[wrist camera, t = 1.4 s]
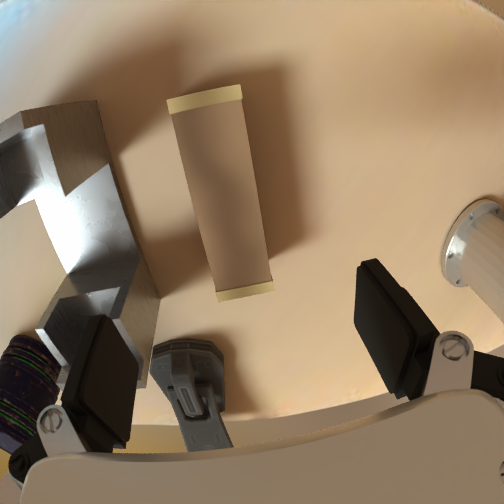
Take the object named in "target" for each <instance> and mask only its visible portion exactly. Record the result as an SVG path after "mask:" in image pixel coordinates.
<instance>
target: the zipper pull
mask: <svg viewBox="0 0 504 504" xmlns="http://www.w3.org/2000/svg"><path fill="white" fill-rule="evenodd" d="M150 374H151V376H152V377H153V378H154V380H155V381H156V383H157V384H158V385H159V387H160V388H161V390H162V391H163V393H164V394H165V395H166V397H167V398H168V400H169V401H170V402H171V404H172V407H173V409H174V412H175V415H176V417H177V420H178V422H179V426H180V429H181V432H182V435H183V438H184V442H185V445H186V448H187V451H188V452H195V451H207V450H217V449H225V448H233V447H234V446H233V445H232V442H231V440H230V437H229V435H228V433H227V430H226V428H225V426H224V423H223V421H222V418H221V416H220V412H223V411H225V399H224V362H223V354H222V353H221V352H220V351H219V350H218V349H217V348H216V347H215V345H214V344H213V343H212V342H210V341H202V340H195V339H179V340H170V341H167V342H164V343H161V344H158V345H155V346H154V347H153V352H152V358H151V365H150ZM191 416H193V417H191Z"/></svg>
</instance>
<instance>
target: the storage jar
mask: <svg viewBox="0 0 504 504" xmlns="http://www.w3.org/2000/svg"><path fill="white" fill-rule="evenodd" d="M61 368H62V366H61V365H60V363H59V362H58V361H57V360H56V358H55V357H54V356H53V354H52V353H51V352H50V350H49V349H48V348H47V346H46V345H45V344H43V343H42V342H40V341H38V340H36V339H34V338H32V337H29V336H25V335H17V336H14V337H13V338H12V339H11V341H10V343H9V346H8V347H7V348H6V350H5V351H4V352H3V354H2V356H1V359H0V448H1V449H3V450H5V451H6V452H8V453H10V454H12V453H13V452H14V451H15V450H16V449H18V448H19V447H20V446H21V445H22V444H24V443H25V442H26V441H27V440H29V439H30V438H31V437H32V436H34V435H35V434H36V433H37V432H38V430H37V419H38V417H39V415H40V413H41V412H42V411H43V410H44V409H45V408H46V407H48V406H50V405H55V403H56V401H57V399H58V397H57V396H58V395H59V392H60V388H59V387H58V386H57V384H56V382H57V379H58V376H59V374H60V371H61Z"/></svg>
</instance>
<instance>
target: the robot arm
mask: <svg viewBox="0 0 504 504" xmlns="http://www.w3.org/2000/svg"><path fill="white" fill-rule="evenodd" d="M441 266H442V272H443V275H444V277H445V278H446V280H447V281H448V282H449V283H450V284H451V285H453V286H455V287H465V286H469V287H470V288H471V289H472V290H473V291H474V292H475V293H476V294H477V295H478V296H479V297H480V298H481V299H482V300H483V301H484V302H485V303H486V304H487V305H488V307H489V308H490V309H491V310H492V311H493V312H494V313H495V314H496V315H497V316H498V318H499V319H500V320H501V321H502V322H503V323H504V211H503V209H502V208H501V206H500V205H498V204H497V203H496V202H494V201H492V200H489V199H483V200H479V201H477V202H475V203H473V204H472V205H470V206H469V207H468V208H467V209H466V210H465V211H464V212H463V213H462V214H461V215H460V216H459V217H458V219H457V220H456V221H455V223H454V225H453V226H452V228H451V230H450V232H449V234H448V236H447V239H446V242H445V245H444V248H443V253H442V260H441ZM354 324H355V327H356V329H357V331H358V333H359V335H360V337H361V339H362V341H363V342H364V344H365V346H366V348H367V350H368V352H369V354H370V356H371V358H372V360H373V362H374V364H375V365H376V367H377V369H378V371H379V373H380V375H381V377H382V379H383V381H384V383H385V385H386V387H387V389H388V391H389V392H390V393H391V394H392V393H394V394H395V396H396V398H397V399H400V398H402V397H405V396H407V397H408V399H409V400H410V401H409V402H406V403H403V404H400V405H398V406H395V407H392V408H389V409H387V410H384V411H381V412H378V413H375V414H372V415H369V416H366V417H363V418H360V419H357V420H354V421H350V422H347V423H344V424H341V425H337V426H334V427H330V428H327V429H323V430H320V431H315V432H311V433H308V434H303V435H299V436H295V437H291V438H285V439H281V440H276V441H270V442H265V443H259V444H253V445H247V446H241V447H233V448H225V449H217V450H207V451H195V452H181V453H158V454H157V453H154V454H132V453H131V454H130V453H129V454H128V453H125V454H124V453H112V452H113V448H119V449H126V442H128V441H129V439H130V431H131V423H132V415H133V408H134V401H135V394H136V387H137V380H138V374H139V364H138V362H137V360H136V358H135V357H134V355H133V354H132V352H131V351H130V349H129V347H128V346H127V344H126V342H125V341H124V339H123V338H122V336H121V334H120V332H119V331H118V329H117V327H116V326H115V324H114V322H113V320H112V319H111V318H110V317H107V315H105V314H99V315H93V316H91V317H90V318H89V321H88V323H87V326H86V328H85V331H84V333H83V336H82V338H81V341H80V344H79V346H78V349H77V352H76V354H75V357H74V360H73V363H72V366H71V368H70V371H69V374H68V377H67V380H66V383H65V387H64V390H63V393H62V396H61V399H60V400H61V401H62V405H61V406H59V405H50V406H48V407H46V408H45V409H44V410H43V411H42V412H41V413H40V415H39V417H38V419H37V430H38V432H37V433H36V434H35V435H34V436H32V437H31V438H30V439H29V440H27V441H26V442H25V443H24V444H22V445H21V446H20V447H19V448H18V449H16V450H15V451H14V452H13V453H12V455H11V457H10V459H9V471H10V473H8V472H5V474H4V475H3V477H2V478H1V480H0V504H504V358H501V357H497V356H493V355H489V354H486V353H482V352H478V351H474V348H473V344H472V342H471V340H470V339H469V338H468V337H467V336H466V335H464V334H463V333H460V332H457V331H447V332H444V333H442V334H440V333H439V331H438V330H437V329H436V327H435V326H434V325H433V323H432V322H431V321H430V319H429V318H428V317H427V315H426V314H425V313H424V312H423V310H422V309H421V308H420V307H419V305H418V304H417V303H416V302H415V300H414V299H413V298H412V297H411V295H410V294H409V293H408V292H407V290H406V289H404V288H403V287H401V286H400V285H399V284H398V283H397V282H396V280H395V279H394V278H393V277H392V276H391V274H390V273H389V272H388V271H387V270H386V268H385V267H384V266H383V265H382V264H381V263H380V261H379V260H378V259H376V258H374V259H370V260H366V261H362V262H361V265H360V266H358V267H357V275H356V294H355V310H354Z"/></svg>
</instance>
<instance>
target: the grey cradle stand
mask: <svg viewBox="0 0 504 504" xmlns="http://www.w3.org/2000/svg"><path fill="white" fill-rule="evenodd" d="M34 198H35V200H36V203H37V206H38V208H39V211H40V214H41V216H42V219H43V221H44V224H45V226H46V228H47V231H48V233H49V236H50V238H51V240H52V242H53V245H54V247H55V249H56V251H57V254H58V256H59V258H60V260H61V262H62V264H63V266H64V268H65V270H66V272H67V276H66V278H65V279H64V281H63V282H62V284H61V285H60V287H59V289H58V290H57V292H56V294H55V295H54V297H53V299H52V300H51V302H50V304H49V305H48V307H47V309H46V311H45V312H44V314H43V316H42V318H41V320H40V321H39V323H38V325H37V327H36V329H35V331H36V332H37V334H38V335H39V336H40V338H41V339H42V341H43V342H44V343H45V345H46V346H47V348H48V349H49V350H50V352H51V353H52V354H53V356H54V357H55V358H56V360H57V361H58V362H59V363H60V365H61V366H62V368H61V371H60V374H59V376H58V379H57V382H56V384H57V386H58V387H59V388H60V389H61V390H62V391H63V390H64V387H65V383H66V380H67V377H68V374H69V371H70V368H71V366H72V363H73V360H74V357H75V354H76V352H77V349H78V346H79V344H80V341H81V338H82V336H83V333H84V331H85V328H86V326H87V323H88V321H89V318H90V317H91V316H93V315H99V314H105V315H107V317H110V318H111V319H112V320H113V322H114V324H115V326H116V327H117V329H118V331H119V332H120V334H121V336H122V338H123V339H124V341H125V342H126V344H127V346H128V347H129V349H130V351H131V352H132V354H133V355H134V357H135V358H136V360H137V362H138V364H139V374H138V380H137V387H136V389H139V388H146V385H147V378H148V371H149V364H150V358H151V351H152V345H153V339H154V333H155V328H156V322H157V317H158V311H159V306H160V301H161V299H160V296H159V294H158V292H157V289H156V287H155V284H154V282H153V279H152V277H151V275H150V272H149V269H148V267H147V264H146V262H145V259H144V257H143V254H142V251H141V249H140V246H139V243H138V241H137V238H136V235H135V232H134V229H133V227H132V224H131V221H130V218H129V215H128V212H127V209H126V206H125V203H124V200H123V197H122V194H121V191H120V187H119V184H118V181H117V178H116V174H115V171H114V167H113V164H112V161H111V157H110V153H109V150H108V146H107V142H106V139H105V135H104V131H103V127H102V123H101V119H100V114H99V110H98V106H97V101H96V100H92V101H82V102H74V103H66V104H59V105H52V106H46V107H40V108H35V109H29V110H24V111H20V112H18V113H17V114H15V115H13V116H12V117H10V118H8V119H7V120H5V121H4V122H2V123H1V124H0V219H1V218H2V217H3V216H4V215H5V214H7V213H8V212H9V211H11V210H12V209H13V208H14V207H16V206H18V205H20V204H22V203H25V202H27V201H29V200H32V199H34Z"/></svg>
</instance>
